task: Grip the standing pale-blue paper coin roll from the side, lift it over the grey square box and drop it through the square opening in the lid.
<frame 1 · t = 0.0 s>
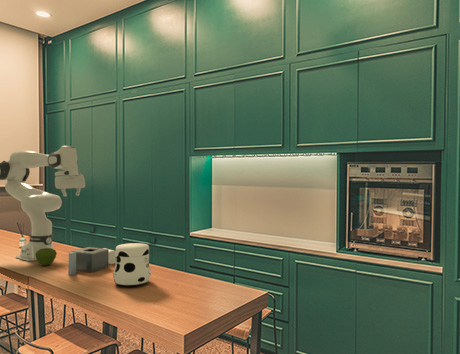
hand: (71, 196, 215), 39 cm above the table, tool pointing down, fingers open, 8 cm apart
apple: (45, 265, 206), on the table
coin roll: (72, 274, 189), on the table
mug: (110, 262, 215), on the table
grey square box: (90, 268, 201), on the table
milk container: (132, 284, 174), on the table
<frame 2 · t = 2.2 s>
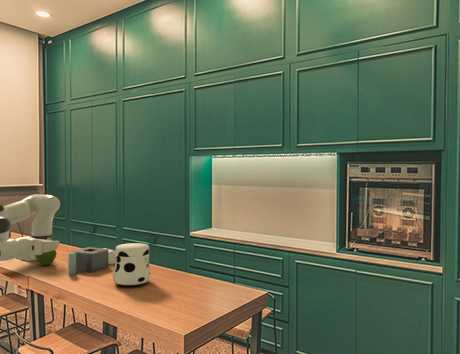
hand: (51, 241, 177), 19 cm above the table, tool horizontal, fingers open, 8 cm apart
nothing on the table moved.
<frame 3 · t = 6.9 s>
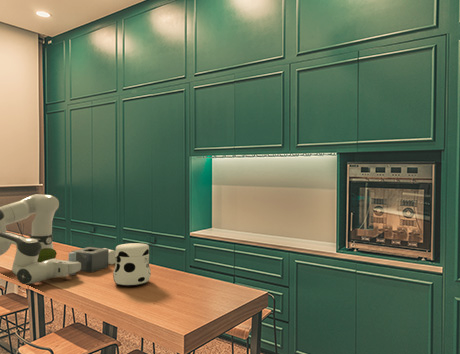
hand: (73, 262, 189), 6 cm above the table, tool horizontal, fingers closed on coin roll, 4 cm apart
coin roll: (72, 274, 189), on the table, touching gripper
everything else where it was.
when the fingers open (15 cm above the table, at t = 10.4 s): coin roll drops 8 cm, resting on grey square box.
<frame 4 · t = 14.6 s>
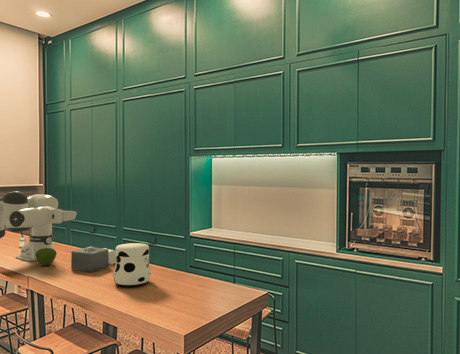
hand: (68, 213, 185), 32 cm above the table, tool horizontal, fingers open, 8 cm apart
coin roll: (90, 267, 200), point 1 cm above the table, touching grey square box
everything else where it was.
at the end: coin roll inside the target area on the grey square box (0.3 cm from its centre), point 0.6 cm above the grey square box's base; the gripper is holding nothing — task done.
